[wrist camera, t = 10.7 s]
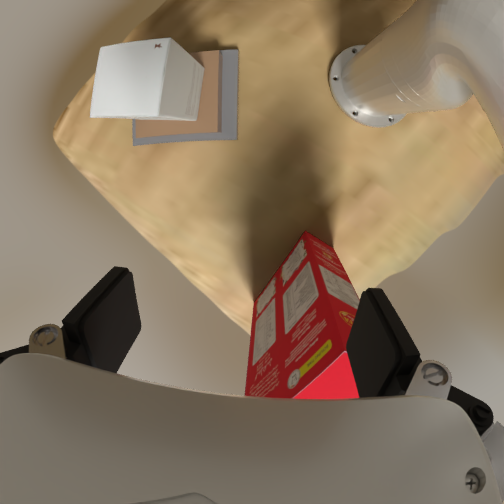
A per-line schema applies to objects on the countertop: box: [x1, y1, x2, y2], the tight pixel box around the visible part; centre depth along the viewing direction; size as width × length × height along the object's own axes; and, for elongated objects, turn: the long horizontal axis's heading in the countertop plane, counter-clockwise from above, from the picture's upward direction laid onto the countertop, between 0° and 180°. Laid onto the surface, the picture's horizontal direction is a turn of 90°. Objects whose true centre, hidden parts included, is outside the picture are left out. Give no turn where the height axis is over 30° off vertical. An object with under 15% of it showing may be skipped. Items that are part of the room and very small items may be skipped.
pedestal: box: [133, 49, 239, 146], centre depth 32 cm, size 15×13×4 cm
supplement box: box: [90, 37, 204, 121], centre depth 24 cm, size 7×7×13 cm
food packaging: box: [245, 231, 360, 399], centre depth 32 cm, size 15×5×25 cm, turn 150°
